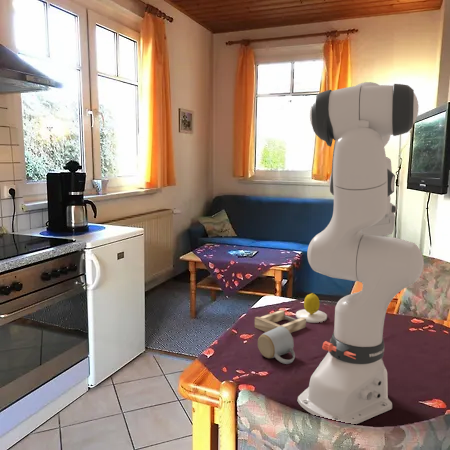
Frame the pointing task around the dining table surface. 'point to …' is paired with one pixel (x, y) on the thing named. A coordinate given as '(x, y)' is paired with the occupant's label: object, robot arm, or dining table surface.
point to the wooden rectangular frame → (269, 320)
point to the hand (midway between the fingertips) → (372, 250)
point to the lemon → (311, 303)
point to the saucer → (312, 316)
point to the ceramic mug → (276, 344)
